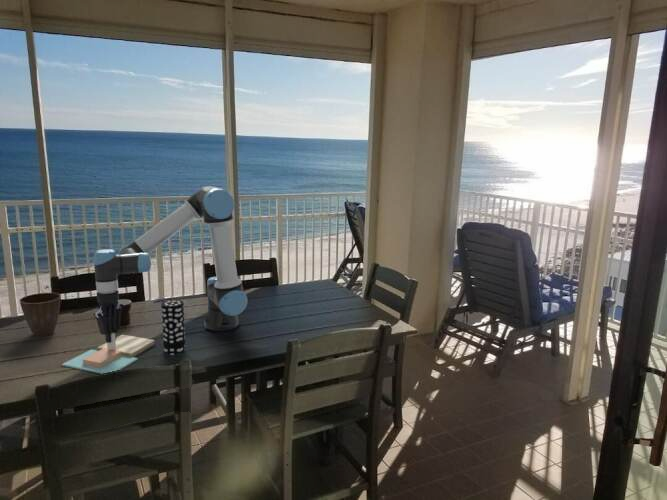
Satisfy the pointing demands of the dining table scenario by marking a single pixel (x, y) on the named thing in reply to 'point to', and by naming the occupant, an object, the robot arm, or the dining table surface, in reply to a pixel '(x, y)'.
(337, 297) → the dining table surface
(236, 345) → the dining table surface
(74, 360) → the teal mat
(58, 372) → the dining table surface
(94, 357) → the terracotta tile
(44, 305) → the plant pot
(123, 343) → the board
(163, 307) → the white-spotted black cylinder
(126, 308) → the coffee mug
